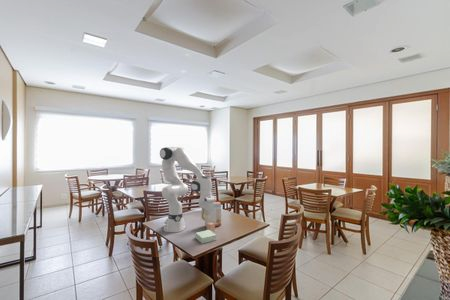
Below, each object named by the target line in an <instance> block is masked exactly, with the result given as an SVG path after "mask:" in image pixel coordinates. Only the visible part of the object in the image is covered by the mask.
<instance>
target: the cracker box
mask: <svg viewBox="0 0 450 300" xmlns="http://www.w3.org/2000/svg"><path fill="white" fill-rule="evenodd" d="M209 222H212V223H215V227H221V226H222V203H221V202H220V201H214V211H213V212H210V220H204V226H205V227H206V228H207V223H209Z"/></svg>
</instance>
